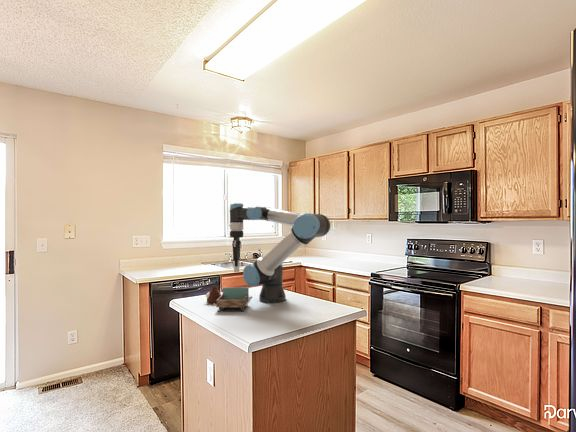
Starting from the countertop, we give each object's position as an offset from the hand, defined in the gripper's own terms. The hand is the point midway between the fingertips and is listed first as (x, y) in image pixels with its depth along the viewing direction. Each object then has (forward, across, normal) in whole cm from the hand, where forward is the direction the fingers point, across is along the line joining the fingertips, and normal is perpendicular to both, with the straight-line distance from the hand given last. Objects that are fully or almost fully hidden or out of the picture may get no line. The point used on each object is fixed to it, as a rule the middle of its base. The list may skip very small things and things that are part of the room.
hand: (236, 271), depth 187 cm
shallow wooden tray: (+16, +16, +1) cm, 23 cm away
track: (+16, +7, +1) cm, 18 cm away
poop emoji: (+17, +3, -12) cm, 21 cm away
